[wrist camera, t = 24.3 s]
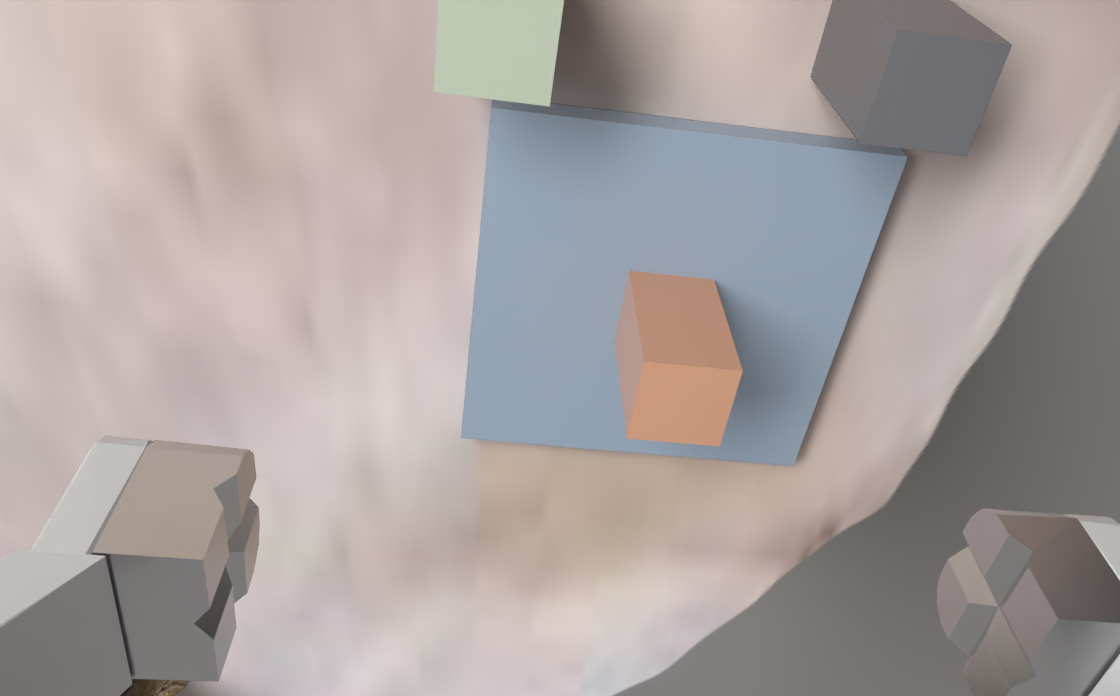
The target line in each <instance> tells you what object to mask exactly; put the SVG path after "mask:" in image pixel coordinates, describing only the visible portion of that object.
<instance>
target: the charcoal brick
mask: <svg viewBox="0 0 1120 696" xmlns="http://www.w3.org/2000/svg"><path fill="white" fill-rule="evenodd" d="M1011 46H1012V44H1010V43H1009V42H1007V41H1006V40H1005V39H1003V38H1002V37H1000V36H999V35H998V34H996V33H995V32H993V31H992V30H991V29H989V28H988V27H986V26H985V25H984V24H982V23H981V22H979V21H978V20H977V19H975V18H974V17H972V16H971V15H970V14H968V13H967V12H965V11H964V10H963V9H961V8H960V7H958V6H957V5H956V4H954V3H953V2H951V1H950V0H833V1H832V5H831V8H830V11H829V15H828V18H827V22H826V25H825V29H824V32H823V35H822V39H821V42H820V46H819V49H818V53H817V56H816V59H815V63H814V66H813V70H812V73H811V78H812V80H813V81H814V82H815V84H816V85H817V86H818V88H819V89H820V90H821V92H822V93H823V94H824V96H825V97H826V98H827V100H828V101H829V102H830V104H831V105H832V107H833V108H834V109H835V111H836V112H837V113H838V115H839V116H840V117H841V119H842V120H843V121H844V123H845V124H846V125H847V127H848V128H849V129H850V131H851V132H852V134H853V135H854V136H855V138H856V139H857V140H858V142H859V143H862V144H870V145H878V146H887V147H895V148H903V149H912V150H920V151H928V152H936V153H945V154H953V155H961V156H967V154H968V151H969V149H970V146H971V144H972V141H973V139H974V137H975V134H976V132H977V129H978V127H979V124H980V122H981V120H982V117H983V115H984V112H985V110H986V107H987V105H988V102H989V100H990V98H991V95H992V93H993V90H994V88H995V85H996V83H997V80H998V78H999V76H1000V73H1001V71H1002V68H1003V66H1004V63H1005V61H1006V59H1007V56H1008V54H1009V51H1010V49H1011Z"/></svg>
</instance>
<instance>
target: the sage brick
mask: <svg viewBox="0 0 1120 696" xmlns="http://www.w3.org/2000/svg"><path fill="white" fill-rule="evenodd" d="M563 5H564V0H439V1H438V18H437V35H436V51H435V68H434V84H433V92H437V93H445V94H453V95H461V96H469V97H477V98H485V99H493V100H501V101H509V102H517V103H525V104H533V105H541V106H549V107H550V101H551V93H552V86H553V79H554V71H555V64H556V56H557V49H558V42H559V34H560V27H561V20H562V12H563Z"/></svg>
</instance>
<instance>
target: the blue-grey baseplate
mask: <svg viewBox="0 0 1120 696" xmlns="http://www.w3.org/2000/svg"><path fill="white" fill-rule="evenodd" d="M907 158H908V157H907V155H906V154H905V153H904V152H903V151H902V149H901V148H895V147H887V146H878V145H870V144H862V143H859V142H858V140H853V139H845V138H837V137H828V136H820V135H812V134H803V133H795V132H787V131H778V130H770V129H761V128H753V127H745V126H736V125H728V124H720V123H711V122H703V121H694V120H686V119H678V118H669V117H661V116H653V115H644V114H636V113H628V112H619V111H611V110H602V109H594V108H586V107H577V106H569V105H561V104H552V103H550V107H549V106H541V105H533V104H525V103H517V102H509V101H501V100H493V99H492V109H491V120H490V130H489V141H488V152H487V163H486V174H485V185H484V195H483V206H482V217H481V228H480V239H479V250H478V260H477V271H476V282H475V293H474V304H473V315H472V325H471V336H470V347H469V358H468V369H467V380H466V390H465V401H464V412H463V423H462V434H461V438H464V439H476V440H488V441H500V442H512V443H524V444H536V445H548V446H559V447H571V448H583V449H595V450H607V451H619V452H631V453H643V454H655V455H667V456H679V457H690V458H702V459H714V460H726V461H738V462H750V463H762V464H774V465H786V466H794V463H795V461H796V458H797V455H798V452H799V450H800V447H801V444H802V442H803V439H804V436H805V433H806V431H807V428H808V425H809V423H810V420H811V417H812V415H813V412H814V409H815V406H816V404H817V401H818V398H819V396H820V393H821V390H822V388H823V385H824V382H825V379H826V377H827V374H828V371H829V369H830V366H831V363H832V361H833V358H834V355H835V352H836V350H837V347H838V344H839V342H840V339H841V336H842V334H843V331H844V328H845V325H846V323H847V320H848V317H849V315H850V312H851V309H852V307H853V304H854V301H855V298H856V296H857V293H858V290H859V288H860V285H861V282H862V279H863V277H864V274H865V271H866V269H867V266H868V263H869V261H870V258H871V255H872V252H873V250H874V247H875V244H876V242H877V239H878V236H879V234H880V231H881V228H882V225H883V223H884V220H885V217H886V215H887V212H888V209H889V207H890V204H891V201H892V198H893V196H894V193H895V190H896V188H897V185H898V182H899V180H900V177H901V174H902V171H903V169H904V166H905V163H906V161H907ZM629 271H637V272H647V273H657V274H666V275H676V276H686V277H695V278H705V279H714V281H715V284H716V287H717V290H718V294H719V297H720V300H721V303H722V306H723V309H724V313H725V316H726V319H727V322H728V325H729V329H730V332H731V335H732V338H733V341H734V344H735V348H736V351H737V354H738V357H739V360H740V364H741V367H742V370H743V372H742V375H741V379H740V382H739V385H738V388H737V392H736V395H735V398H734V402H733V405H732V408H731V411H730V415H729V418H728V421H727V424H726V428H725V431H724V434H723V438H722V441H721V444H720V447H719V446H708V445H696V444H684V443H673V442H661V441H650V440H638V439H627V437H626V429H625V421H624V413H623V406H622V398H621V390H620V382H619V374H618V367H617V359H616V351H615V343H614V341H615V336H616V332H617V327H618V322H619V317H620V312H621V307H622V302H623V297H624V292H625V287H626V282H627V277H628V272H629Z"/></svg>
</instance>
